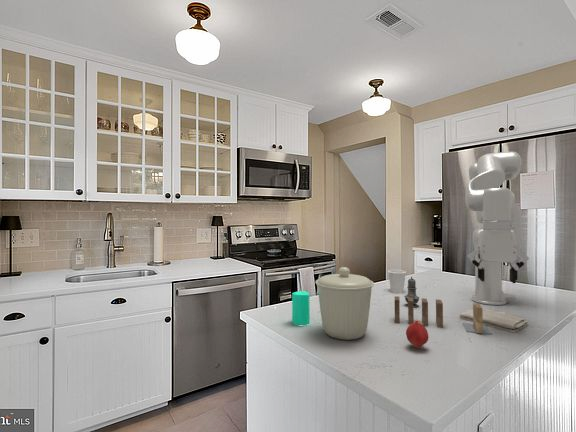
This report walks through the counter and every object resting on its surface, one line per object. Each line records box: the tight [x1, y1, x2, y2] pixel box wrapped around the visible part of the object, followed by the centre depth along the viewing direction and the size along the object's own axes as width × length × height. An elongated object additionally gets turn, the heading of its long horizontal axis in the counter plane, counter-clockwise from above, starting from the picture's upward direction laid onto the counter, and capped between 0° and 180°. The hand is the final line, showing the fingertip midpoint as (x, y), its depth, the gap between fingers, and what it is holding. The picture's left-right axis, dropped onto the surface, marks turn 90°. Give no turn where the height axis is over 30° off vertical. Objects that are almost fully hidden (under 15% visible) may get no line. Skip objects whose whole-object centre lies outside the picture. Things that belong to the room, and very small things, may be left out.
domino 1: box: [394, 295, 401, 324], centre depth 111 cm, size 2×5×8 cm, turn 160°
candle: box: [291, 288, 311, 326], centre depth 109 cm, size 6×6×12 cm
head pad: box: [461, 322, 493, 335], centre depth 102 cm, size 7×8×1 cm
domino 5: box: [472, 302, 484, 334], centre depth 100 cm, size 2×5×8 cm, turn 160°
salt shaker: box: [403, 276, 420, 309], centre depth 129 cm, size 6×6×12 cm
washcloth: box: [459, 307, 529, 333], centre depth 109 cm, size 12×18×3 cm, turn 37°
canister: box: [315, 266, 375, 341], centre depth 99 cm, size 18×18×21 cm
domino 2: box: [407, 297, 415, 325], centre depth 109 cm, size 2×5×8 cm, turn 160°
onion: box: [405, 319, 430, 349], centre depth 88 cm, size 6×6×8 cm
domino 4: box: [435, 299, 444, 329], centre depth 106 cm, size 2×5×8 cm, turn 160°
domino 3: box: [421, 297, 429, 327], centre depth 108 cm, size 2×5×8 cm, turn 160°
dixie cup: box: [387, 269, 407, 294], centre depth 152 cm, size 8×8×10 cm
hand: (497, 281), depth 100 cm, fingers open, 7 cm apart
